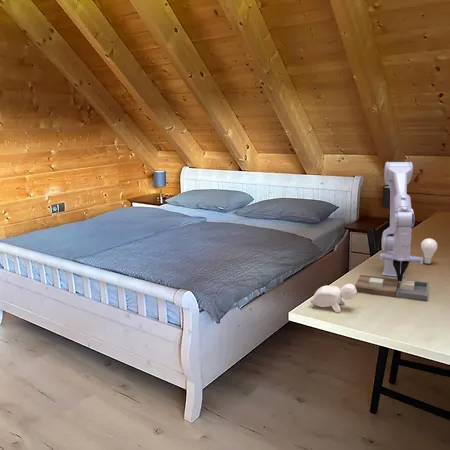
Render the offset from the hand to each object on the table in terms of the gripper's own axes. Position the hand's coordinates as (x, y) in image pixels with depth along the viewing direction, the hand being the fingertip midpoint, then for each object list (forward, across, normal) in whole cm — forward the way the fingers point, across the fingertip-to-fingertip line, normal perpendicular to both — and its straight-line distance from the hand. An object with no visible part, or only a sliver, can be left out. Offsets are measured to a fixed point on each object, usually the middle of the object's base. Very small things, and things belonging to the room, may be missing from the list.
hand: (399, 280), depth 173 cm
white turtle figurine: (+3, -18, -26) cm, 32 cm away
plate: (+3, -8, -3) cm, 9 cm away
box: (+3, +5, -3) cm, 6 cm away
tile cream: (+2, +3, 0) cm, 4 cm away
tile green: (+1, -8, -6) cm, 10 cm away
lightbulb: (+3, +8, +34) cm, 35 cm away
